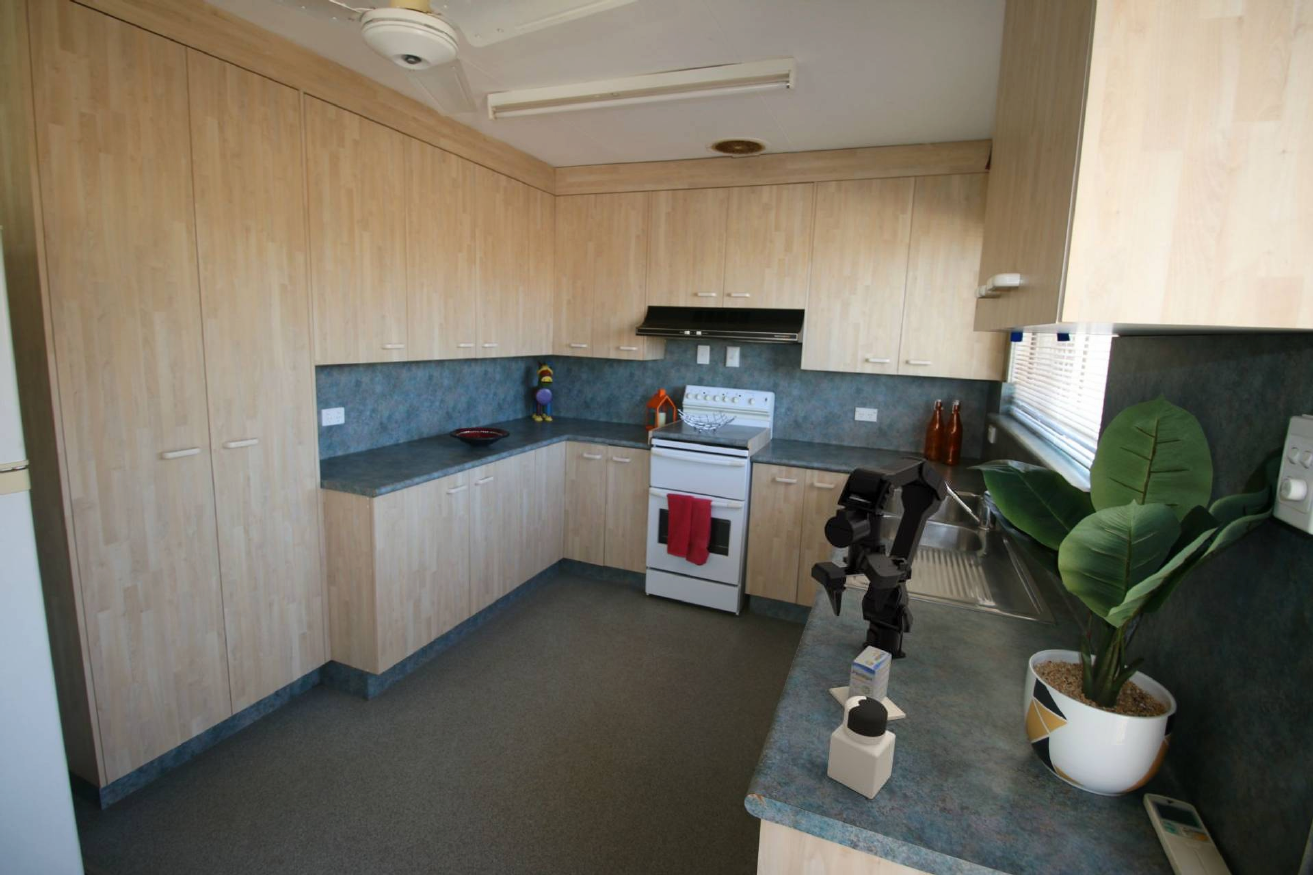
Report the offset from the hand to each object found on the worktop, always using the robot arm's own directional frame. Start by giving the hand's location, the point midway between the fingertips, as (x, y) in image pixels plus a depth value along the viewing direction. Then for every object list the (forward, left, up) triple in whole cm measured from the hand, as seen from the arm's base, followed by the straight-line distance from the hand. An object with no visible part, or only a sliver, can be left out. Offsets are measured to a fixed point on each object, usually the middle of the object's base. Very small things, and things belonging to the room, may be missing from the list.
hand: (857, 612), depth 121 cm
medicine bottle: (+15, +26, -13) cm, 32 cm away
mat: (+3, +10, -13) cm, 16 cm away
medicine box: (+3, +10, -13) cm, 16 cm away
